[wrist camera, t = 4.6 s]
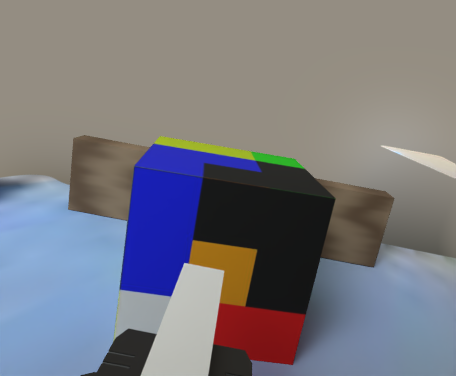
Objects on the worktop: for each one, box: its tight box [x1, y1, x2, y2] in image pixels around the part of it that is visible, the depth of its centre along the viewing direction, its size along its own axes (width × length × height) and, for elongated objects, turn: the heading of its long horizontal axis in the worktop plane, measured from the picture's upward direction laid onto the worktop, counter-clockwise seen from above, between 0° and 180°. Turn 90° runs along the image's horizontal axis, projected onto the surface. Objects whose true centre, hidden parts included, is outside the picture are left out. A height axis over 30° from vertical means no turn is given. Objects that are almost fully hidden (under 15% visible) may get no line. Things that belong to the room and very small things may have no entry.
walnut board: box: [68, 135, 394, 267], centre depth 38 cm, size 30×2×7 cm, turn 86°
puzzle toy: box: [113, 136, 336, 365], centre depth 25 cm, size 10×10×10 cm
